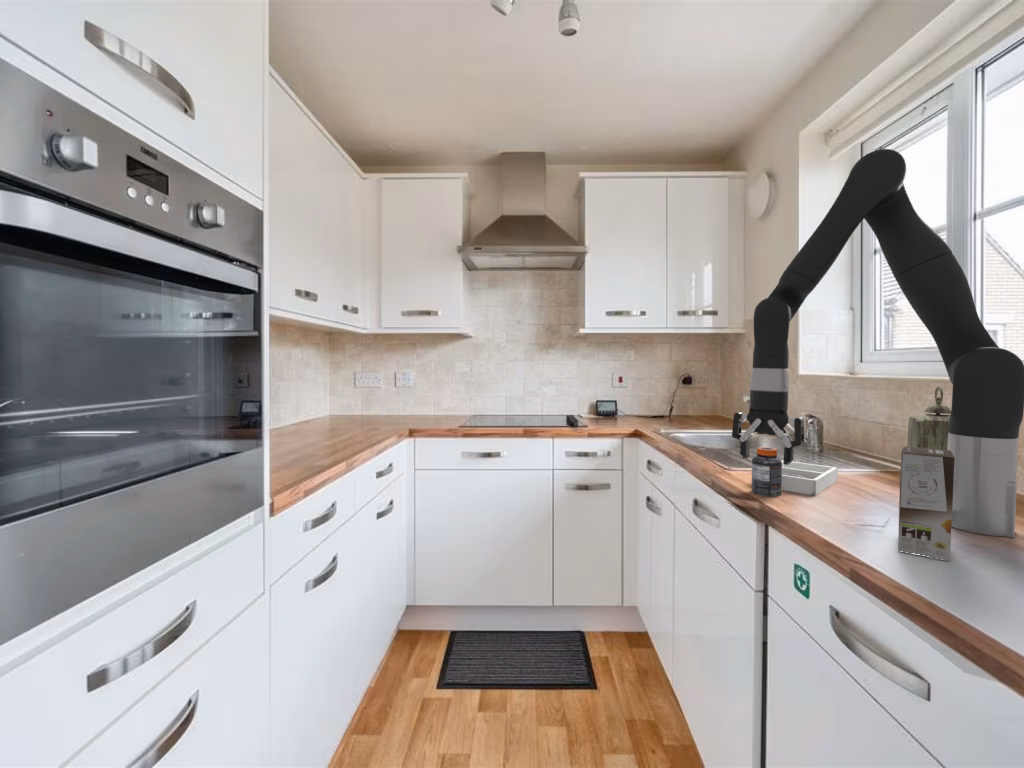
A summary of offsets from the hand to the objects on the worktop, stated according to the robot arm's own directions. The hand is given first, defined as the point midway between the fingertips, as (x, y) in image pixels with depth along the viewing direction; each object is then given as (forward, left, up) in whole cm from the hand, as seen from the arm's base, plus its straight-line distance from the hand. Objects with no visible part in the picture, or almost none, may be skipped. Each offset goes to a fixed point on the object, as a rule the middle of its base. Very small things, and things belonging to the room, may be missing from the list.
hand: (765, 461), depth 108 cm
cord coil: (-2, -11, -7) cm, 13 cm away
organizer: (-2, -16, -8) cm, 18 cm away
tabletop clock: (-25, -47, -9) cm, 54 cm away
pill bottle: (0, 0, -9) cm, 9 cm away
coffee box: (-28, +14, -9) cm, 33 cm away
